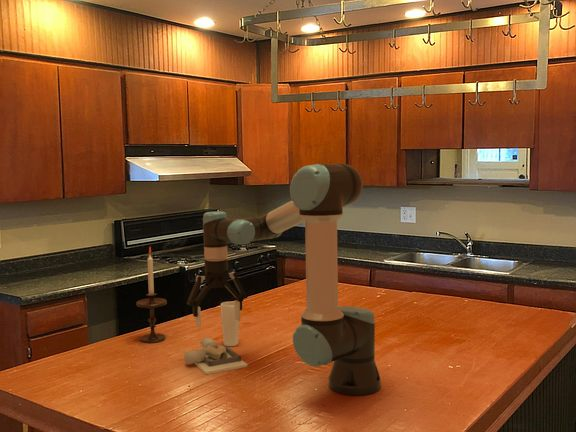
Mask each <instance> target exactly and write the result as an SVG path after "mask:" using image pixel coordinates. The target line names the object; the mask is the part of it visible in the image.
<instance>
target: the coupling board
mask: <svg viewBox="0 0 576 432" xmlns="http://www.w3.org/2000/svg"><path fill="white" fill-rule="evenodd" d="M209 345H210V346H212V347H214V348H218V347H219V345H218V343H217V342H215V340H213V339H212V338H211V337H209V336H205V337H203V338H202V339H201V340H200V346H201V347H202V348H201V349H199V348H198V349H195V350H188V351H184V354H183V355H184V361H185V364H186V365H191V364H192V365H193V364H194V365H195V366H196V367H197V368H199V370H200V371H202V373H204V374H205V375H211V374H217V373H223V372H226V371H232V370H238V369H242V368H248V363H246V362H245V361H243V359H242V356H241V355H239V354H238V353H237V352H236V351H234V350H233V349H232V348H230V346H224V347H225V348H226V352H227V358H224V359H218V360H216V359H214V358H211V357H208V356H206V352H205V349H206V348H207V347H208V346H209Z"/></svg>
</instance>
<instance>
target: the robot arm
mask: <svg viewBox="0 0 576 432" xmlns="http://www.w3.org/2000/svg"><path fill="white" fill-rule="evenodd" d="M363 188H364V181H363V179H362V176H361V174H360V172H359V171H358V169H356V168H355V167H353V166H352V165H349V164H346V163H327V164H326V163H323V164H321V163H320V164H319V163H316V164H315V163H314V164H310V165H305V166H304V165H303V166H302V167H300V168H299V169H297V172H296V173H294V175H293V176H292V179H291V182H290V185H289V194H290V195H289V196H290V198H291V200H290V201H287V202H286V203H285V204H283V205H281V206H278V207H277V208H275V209H272V210H271V211H269V212H267V213H265V214H263V215H261V216H255V217H245V218H238V219H237V218H232V219H231V218H227V213H226V212H225V211H207V212H204V214H203V217H202V230H203V231H202V232H203V233H202V234H203V249H204V250H203V253H204V259H205V260H204V275H197V274H196V275H195V281H194V285H193V286H192V289H191V291H190V294H189V296H188V299H187V301H186V305H188V306H189V307H192V315H193V317H194V318H195V324H196V327H197V328H202V315H201V313H202V311H201V307H200V306H199V305H200V304H201V302H202V301H203V300H204V298H205V296H206V295H207V294H208V293H209V291H211V289H218V288H221V289H222V288H223V287H224V288H225V289H226V290H227V291H228V292H229V293H231V294H232V295H233V297H234V298H235V300H234V301H233V302H235V320H237V321H239V322H241V311H243V302H244V300H245V299H248V295H247V293H246V291H245V289H244V287H243V285H242V283H241V281H240V279H239V275H238V272H237V271H231V272H229V260H228V257H229V256H228V254H229V253H228V244H234V245H248V244H250V243H251V242H255V241H262V240H272V239H276V238H278V237H280V236H282V234H283V232H285V231H288V230H289V229H292V228H294V227H296V226H298V225H300V224H302V223H304V228H305V230H304V231H305V233H304V234H305V235H304V237H305V238H304V239H305V286H306V287H305V290H306V291H305V292H306V308H305V310H303V311H302V313H301V315H300V316H301V317H300V321H301V322H300V323H301V324H300V325H299V326H297V327H296V329H295V330H294V332H293V335H292V343H293V347H294V351H295V352H296V354H297V356H298V357H299V358H300V360H301V361H302V362H303V363H305V364H306V365H308V366H310V367H314V368H315V367H320V366H325V365H326V366H327V365H329V364H330V363H332V365H331V366H332V367H331V369H330V373H329V376H328V388H330V390H332V391H333V392H335V393H338V394H341V395H347V396H365V395H370V394H374V393H376V392H378V391H379V390H380V389H381V387H382V386H381V383H382V382H381V381H382V379H381V377H380V373H379V370H378V367H377V364H376V359H375V349H376V347H375V345H376V343H375V342H376V341H375V340H376V339H375V338H376V336H375V334H376V333H375V329H376V328H375V327H376V323H375V322H376V320H375V314H374V312H373V311H372V310H370V309H368V308H364V307H359V306H349V305H348V306H347V305H345V306H339V285H338V284H339V279H338V278H339V275H338V274H339V273H338V271H339V270H338V268H339V266H338V264H339V263H338V220H339V219H340V218H341V217H342V216H343V209H344V207H346V206H349V205H351V204H353V203H355V202H356V201H357V200H358V199H359V198H360V196H361V195H362V192H363ZM229 278H230V279H232V281H233V283H234V285H235V288H236V289H237V291H238V292H237V291H236V289H234V288H233V287H232V285H231V284H230V283H229V282H228V280H229ZM204 281H205V284H204V285H203V287H202V289H201V290H200V288H201V285H202V283H203V282H204ZM199 291H200V292H199ZM231 294H230V295H231Z"/></svg>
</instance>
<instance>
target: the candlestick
mask: <svg viewBox="0 0 576 432" xmlns="http://www.w3.org/2000/svg"><path fill="white" fill-rule="evenodd" d="M148 249H149V250H148V257H147V283H148V293H147V294H145V296H147V297H148V298H143V299H142V298H141V299H139V300H137V301H136V306H137V307H138V308H142V309H143V308H144V309H149V317H150V318H148V319H147V320H148V323H150V325H149V326H148V327H149V328H150V333H149V334H144V335H142V336H141V337H139V338H140V342H141V343H143V344H158V343H162V342H163V341H165V340H166V335H165V334H163V333H156V331H155V328H156V327H157V326H156V325H157V324H156V322H157V318H155V309H156V308H160V307H164V306H166V305H167V304H168V303H167V302H168V301H167V299H166V298H161V297H155V296H156V295H158V293H155V288H154V287H155V285H154V282H155V281H154V264H153V263H154V260H153V257H152V255H151V254H152V249H151V245H150V246H149V247H148Z"/></svg>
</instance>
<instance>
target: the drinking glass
mask: <svg viewBox="0 0 576 432" xmlns="http://www.w3.org/2000/svg"><path fill="white" fill-rule="evenodd" d="M220 321H221V328H222V339H223V341H222V343H223V346H224V347H227V346H228V347H236V346H238V344H239V336H240V334H239V333H240V332H239V331H240V321H237V320H235V302H234V301H223V302H221V303H220Z"/></svg>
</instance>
